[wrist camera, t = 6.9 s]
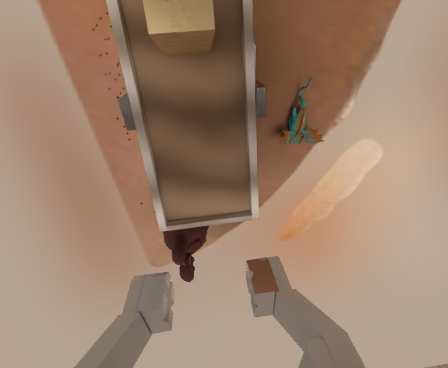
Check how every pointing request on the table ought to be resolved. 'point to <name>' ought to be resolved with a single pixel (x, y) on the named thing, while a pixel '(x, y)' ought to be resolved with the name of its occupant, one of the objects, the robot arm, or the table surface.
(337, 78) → the table surface
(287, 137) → the dragon figurine
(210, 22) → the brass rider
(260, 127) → the table surface
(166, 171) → the balance beam
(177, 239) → the icecream
